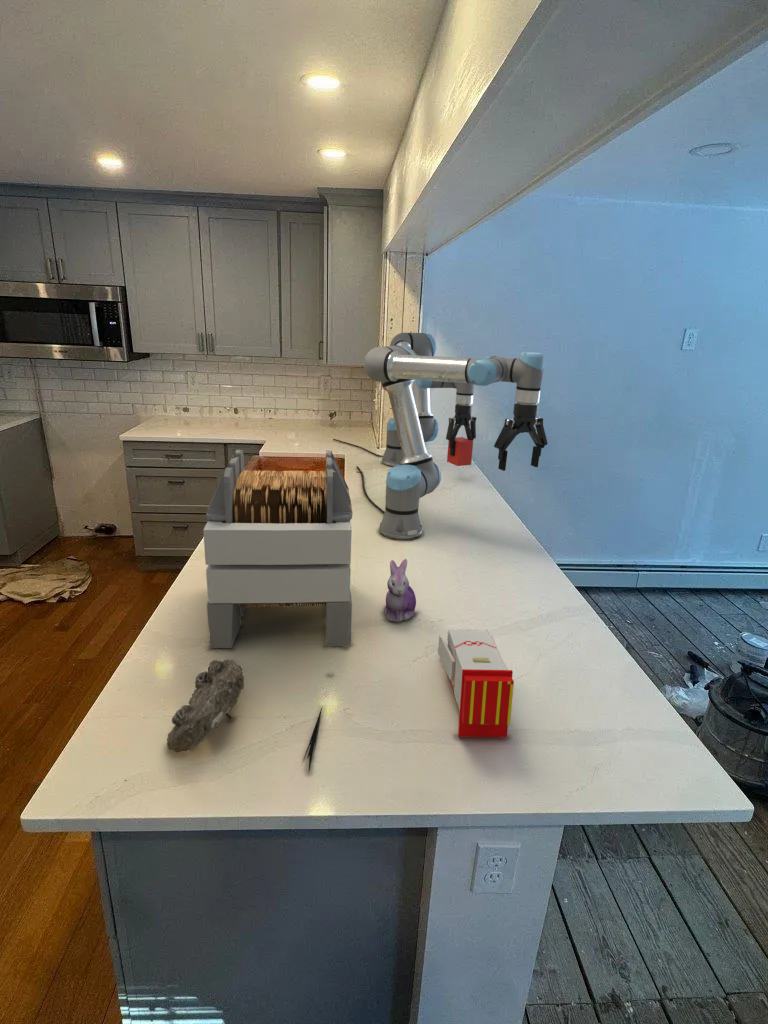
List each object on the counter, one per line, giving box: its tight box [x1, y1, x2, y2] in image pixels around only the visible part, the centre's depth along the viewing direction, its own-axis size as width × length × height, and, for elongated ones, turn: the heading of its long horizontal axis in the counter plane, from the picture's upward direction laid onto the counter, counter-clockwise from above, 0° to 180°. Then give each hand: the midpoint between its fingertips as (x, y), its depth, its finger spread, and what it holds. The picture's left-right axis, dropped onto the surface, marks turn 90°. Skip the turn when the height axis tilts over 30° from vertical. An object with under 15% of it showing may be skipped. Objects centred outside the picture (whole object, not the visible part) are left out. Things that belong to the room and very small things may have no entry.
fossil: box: [166, 658, 245, 754], centre depth 106 cm, size 22×10×15 cm
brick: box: [446, 436, 474, 467], centre depth 258 cm, size 9×7×11 cm
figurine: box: [384, 558, 417, 623], centre depth 145 cm, size 9×10×15 cm
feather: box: [301, 673, 332, 771], centre depth 108 cm, size 2×28×2 cm
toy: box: [437, 628, 515, 738], centre depth 117 cm, size 12×13×30 cm
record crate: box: [202, 448, 353, 650], centre depth 139 cm, size 34×33×41 cm
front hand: (518, 468), depth 187 cm, fingers open, 13 cm apart
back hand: (459, 454), depth 259 cm, fingers closed on brick, 7 cm apart
